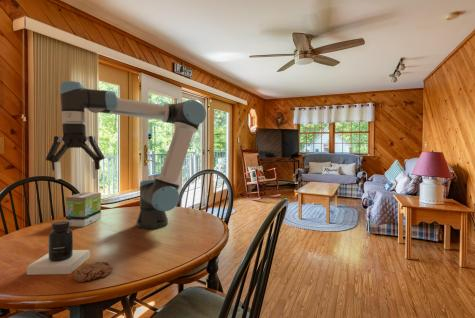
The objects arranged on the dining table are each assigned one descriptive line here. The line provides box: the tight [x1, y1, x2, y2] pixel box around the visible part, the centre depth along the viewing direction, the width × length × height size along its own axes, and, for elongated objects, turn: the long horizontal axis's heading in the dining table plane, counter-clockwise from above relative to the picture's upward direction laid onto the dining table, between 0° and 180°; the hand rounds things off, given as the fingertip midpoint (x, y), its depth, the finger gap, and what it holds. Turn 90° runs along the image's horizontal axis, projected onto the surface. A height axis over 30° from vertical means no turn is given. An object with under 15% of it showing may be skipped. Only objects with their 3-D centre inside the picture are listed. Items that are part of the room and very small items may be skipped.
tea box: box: [65, 191, 102, 227], centre depth 139 cm, size 15×10×15 cm
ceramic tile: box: [26, 249, 91, 276], centre depth 91 cm, size 13×13×2 cm
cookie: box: [73, 261, 113, 283], centre depth 85 cm, size 10×11×3 cm
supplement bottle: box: [48, 220, 74, 261], centre depth 90 cm, size 7×7×12 cm
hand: (76, 178), depth 104 cm, fingers open, 13 cm apart
